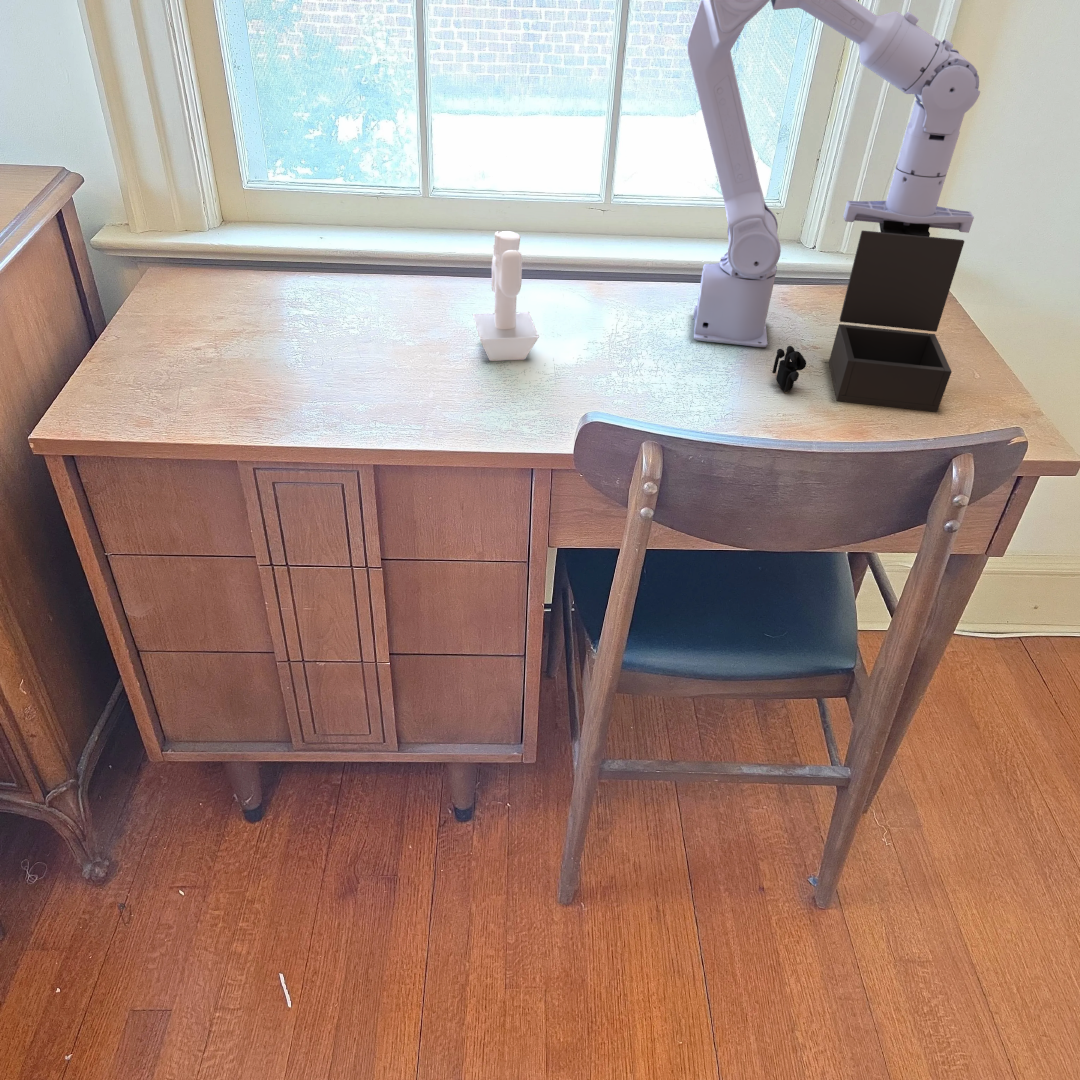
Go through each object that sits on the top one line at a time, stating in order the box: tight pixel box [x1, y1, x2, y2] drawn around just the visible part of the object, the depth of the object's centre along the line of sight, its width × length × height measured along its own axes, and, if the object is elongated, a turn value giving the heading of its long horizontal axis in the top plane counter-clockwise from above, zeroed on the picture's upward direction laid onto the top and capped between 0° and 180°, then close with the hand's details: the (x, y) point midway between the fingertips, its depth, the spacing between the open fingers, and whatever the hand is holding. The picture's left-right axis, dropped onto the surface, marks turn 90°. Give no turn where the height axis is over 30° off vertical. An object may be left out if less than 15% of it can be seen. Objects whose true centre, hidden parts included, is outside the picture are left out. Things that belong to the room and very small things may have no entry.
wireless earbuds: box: [771, 345, 807, 394], centre depth 107 cm, size 7×2×5 cm, turn 5°
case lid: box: [839, 230, 965, 333], centre depth 107 cm, size 11×12×1 cm
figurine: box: [472, 230, 540, 362], centre depth 108 cm, size 7×9×15 cm
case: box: [828, 323, 953, 413], centre depth 108 cm, size 10×12×5 cm
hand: (888, 282), depth 112 cm, fingers closed
